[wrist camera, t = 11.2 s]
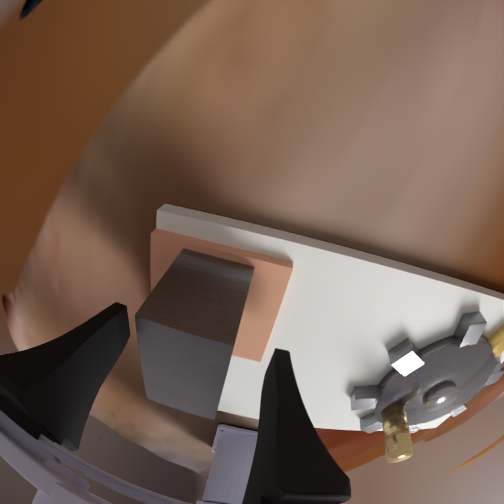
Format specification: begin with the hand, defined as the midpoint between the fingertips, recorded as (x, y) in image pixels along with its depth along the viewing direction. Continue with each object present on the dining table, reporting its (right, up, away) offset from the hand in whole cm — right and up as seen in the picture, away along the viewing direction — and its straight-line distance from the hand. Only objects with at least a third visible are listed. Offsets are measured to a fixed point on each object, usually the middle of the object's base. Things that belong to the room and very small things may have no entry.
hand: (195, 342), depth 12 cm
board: (+10, -4, +5) cm, 12 cm away
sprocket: (+17, -6, +4) cm, 19 cm away
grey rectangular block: (0, +1, +2) cm, 3 cm away
